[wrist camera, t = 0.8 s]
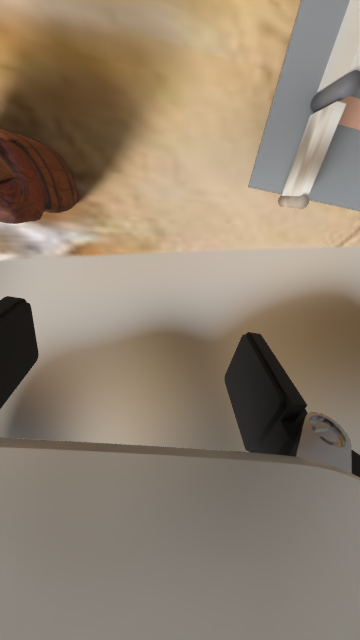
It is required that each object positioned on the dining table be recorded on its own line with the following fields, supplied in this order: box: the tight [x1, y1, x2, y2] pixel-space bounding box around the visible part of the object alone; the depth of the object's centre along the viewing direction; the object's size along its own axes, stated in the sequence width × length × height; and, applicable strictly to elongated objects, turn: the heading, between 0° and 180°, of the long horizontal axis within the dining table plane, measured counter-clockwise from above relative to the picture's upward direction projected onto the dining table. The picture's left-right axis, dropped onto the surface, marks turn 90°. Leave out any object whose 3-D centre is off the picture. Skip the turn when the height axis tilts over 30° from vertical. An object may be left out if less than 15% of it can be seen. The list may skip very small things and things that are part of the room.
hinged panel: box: [278, 101, 346, 209], centre depth 25 cm, size 9×1×5 cm, turn 170°
